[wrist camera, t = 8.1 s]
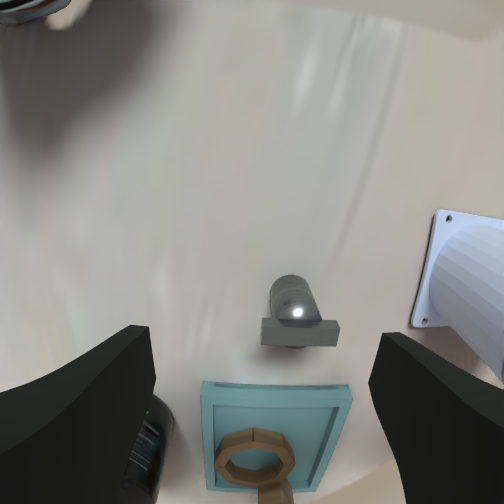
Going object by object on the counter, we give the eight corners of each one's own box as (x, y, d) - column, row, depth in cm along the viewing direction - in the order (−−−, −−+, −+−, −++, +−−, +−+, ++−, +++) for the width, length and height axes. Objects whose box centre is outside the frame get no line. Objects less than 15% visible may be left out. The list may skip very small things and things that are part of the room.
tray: (348, 384, 21) (353, 398, 20) (313, 480, 25) (315, 491, 24) (203, 381, 21) (200, 395, 19) (208, 478, 25) (206, 489, 24)
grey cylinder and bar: (322, 276, 19) (342, 315, 14) (316, 312, 19) (333, 357, 15) (261, 273, 18) (263, 312, 14) (258, 310, 19) (259, 356, 15)
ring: (204, 440, 22) (196, 486, 17) (274, 419, 22) (279, 466, 17) (252, 495, 24) (252, 535, 19) (311, 479, 23) (319, 519, 18)
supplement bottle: (162, 446, 24) (133, 560, 12) (91, 414, 23) (40, 519, 11) (187, 404, 22) (157, 544, 10) (104, 365, 21) (34, 490, 9)
